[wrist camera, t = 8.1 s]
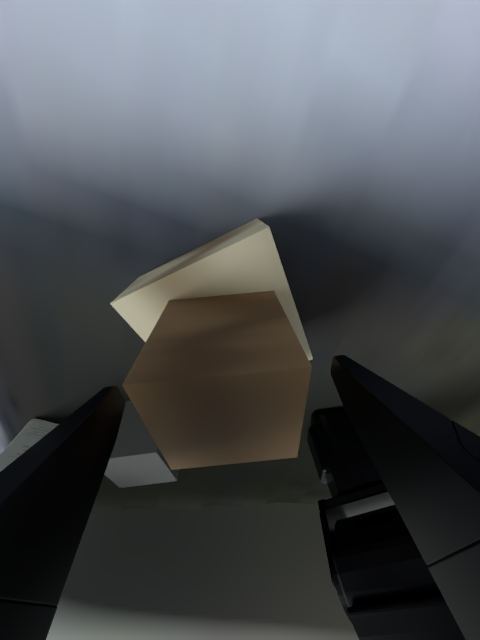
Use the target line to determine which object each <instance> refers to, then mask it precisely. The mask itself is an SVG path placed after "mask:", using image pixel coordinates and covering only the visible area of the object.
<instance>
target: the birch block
mask: <svg viewBox="0 0 480 640" xmlns="http://www.w3.org/2000/svg"><path fill="white" fill-rule="evenodd" d="M264 291H274V292H275V294H276V296H277V298H278V300H279V302H280V304H281V306H282V308H283V310H284V312H285V314H286V316H287V318H288V320H289V322H290V324H291V326H292V328H293V330H294V332H295V334H296V336H297V338H298V340H299V342H300V344H301V346H302V348H303V350H304V352H305V354H306V356H307V358H308V360H312V359H313V357H312V354H311V351H310V348H309V345H308V342H307V339H306V336H305V333H304V330H303V327H302V324H301V321H300V318H299V315H298V312H297V309H296V306H295V303H294V300H293V297H292V294H291V291H290V288H289V285H288V282H287V279H286V276H285V273H284V270H283V267H282V264H281V261H280V258H279V255H278V252H277V249H276V245H275V242H274V239H273V236H272V233H271V230H270V227H269V226H268V225H266V224H265V223H263V222H262V221H260V220H259V219H258V218H257V219H255V220H253V221H251V222H249V223H247V224H245V225H243V226H241V227H239V228H237V229H235V230H233V231H231V232H229V233H227V234H225V235H223V236H221V237H219V238H217V239H215V240H213V241H211V242H209V243H207V244H205V245H203V246H201V247H199V248H197V249H195V250H193V251H191V252H189V253H186V254H184V255H182V256H180V257H178V258H176V259H174V260H172V261H170V262H168V263H166V264H164V265H162V266H160V267H158V268H156V269H154V270H152V271H150V272H148V273H146V274H144V275H142V276H140V277H139V278H138V279H136V280H135V281H134V282H133V283H132V284H131V285H130V286H129V287H128V288H127V289H125V290H124V291H123V292H122V293H121V294H120V295H119V296H118V297H117V298H116V299H115V300H113V301H112V302H111V303H110V304H111V305H112V306H113V307H114V308H115V310H116V311H117V312H118V313H119V314H120V315H121V316H122V317H123V318H124V319H125V321H126V322H127V323H128V324H129V325H130V326H131V327H132V328H133V329H134V330H135V331H136V333H137V334H138V335H139V336H140V337H141V338H142V339H143V340H144V341H145V342H146V341H147V339H148V337H149V336H150V334H151V332H152V330H153V328H154V327H155V325H156V323H157V321H158V319H159V318H160V316H161V314H162V312H163V310H164V309H165V307H166V305H167V303H168V301H169V300H177V299H188V298H199V297H210V296H220V295H231V294H242V293H253V292H264Z"/></svg>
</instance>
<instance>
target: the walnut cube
mask: <svg viewBox="0 0 480 640" xmlns="http://www.w3.org/2000/svg"><path fill="white" fill-rule="evenodd" d="M311 370H312V366H311V364H310V362H309V360H308V358H307V356H306V354H305V352H304V350H303V348H302V346H301V344H300V342H299V340H298V338H297V336H296V334H295V332H294V330H293V328H292V326H291V324H290V322H289V320H288V318H287V316H286V314H285V312H284V310H283V308H282V306H281V304H280V302H279V300H278V298H277V296H276V294H275V292H274V291H264V292H253V293H242V294H231V295H220V296H210V297H199V298H188V299H177V300H169V301H168V303H167V305H166V307H165V309H164V310H163V312H162V314H161V316H160V318H159V319H158V321H157V323H156V325H155V327H154V328H153V330H152V332H151V334H150V336H149V337H148V339H147V341H146V343H145V345H144V346H143V348H142V350H141V352H140V354H139V355H138V357H137V359H136V361H135V363H134V364H133V366H132V368H131V370H130V372H129V373H128V375H127V377H126V379H125V381H124V382H123V384H122V386H123V388H124V390H125V391H126V393H127V395H128V396H129V398H130V400H131V402H132V403H133V405H134V407H135V408H136V410H137V412H138V414H139V415H140V417H141V419H142V420H143V422H144V424H145V425H146V427H147V429H148V431H149V432H150V434H151V436H152V437H153V439H154V441H155V443H156V444H157V446H158V448H159V449H160V451H161V453H162V455H163V456H164V458H165V460H166V461H167V463H168V465H169V467H170V468H171V470H175V469H185V468H195V467H205V466H215V465H225V464H235V463H245V462H255V461H265V460H275V459H285V458H295V457H297V455H298V448H299V442H300V436H301V430H302V424H303V418H304V412H305V406H306V400H307V394H308V388H309V382H310V376H311Z"/></svg>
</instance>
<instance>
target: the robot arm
mask: <svg viewBox="0 0 480 640" xmlns="http://www.w3.org/2000/svg"><path fill="white" fill-rule="evenodd" d="M331 376H332V378H333V381H334V383H335V386H336V388H337V391H338V393H339V396H340V398H341V401H342V403H343V406H344V408H341V409H333V410H325V411H318V412H314V413H313V414H312V416H311V426H310V428H309V429H308V439H307V441H308V444H309V447H310V451H311V454H312V457H313V460H314V463H315V466H316V469H317V472H318V475H319V478H320V481H321V482H322V483H327V484H328V487H329V490H330V493H331V496H332V498H330V499H327V500H324V499H323V500H319V501H318V504H319V510H320V519H321V525H322V530H323V535H324V540H325V546H326V552H327V557H328V562H329V568H330V573H331V578H332V583H333V586H334V588H335V590H336V591H337V593H338V596H339V599H340V601H341V604H342V606H343V608H344V610H345V613H346V615H347V616H348V618H349V620H350V621H351V623H352V624H353V626H354V629H355V631H356V633H357V635H358V637H359V640H480V436H478V435H476V434H475V433H473V432H471V431H469V430H468V429H466V428H464V427H463V426H461V425H459V424H458V423H456V422H455V421H451V420H450V419H449V418H448V417H446V416H444V415H443V414H441V413H439V412H438V411H436V410H434V409H433V408H431V407H430V406H428V405H426V404H425V403H423V402H421V401H420V400H418V399H416V398H415V397H413V396H411V395H410V394H408V393H406V392H405V391H403V390H401V389H400V388H398V387H396V386H395V385H393V384H391V383H390V382H388V381H386V380H385V379H383V378H382V377H380V376H378V375H377V374H375V373H373V372H372V371H370V370H368V369H367V368H365V367H363V366H362V365H360V364H358V363H357V362H355V361H353V360H352V359H350V358H348V357H347V356H345V355H339V356H334V357H333V359H332V365H331ZM125 403H126V399H125V397H124V395H123V394H122V392H121V391H120V390H119V388H118V387H117V386H109V387H105V388H103V389H102V390H101V391H100V392H98V393H97V394H96V395H95V396H93V397H92V398H91V399H90V400H88V401H87V402H86V403H85V404H84V405H82V406H81V407H80V408H79V409H77V410H76V411H75V412H74V413H72V414H71V415H70V416H69V417H67V418H66V419H65V420H64V421H62V422H61V423H60V424H59V425H58V426H56V427H55V428H54V429H53V430H51V431H50V432H49V433H48V434H46V435H45V436H44V437H43V438H41V439H40V440H39V441H38V442H36V443H35V444H34V445H33V446H32V447H30V448H29V449H28V450H27V451H25V452H24V453H23V454H22V455H20V456H19V457H18V458H17V459H15V460H14V461H13V462H12V463H10V464H9V465H8V466H7V467H6V468H4V469H3V470H2V471H1V472H0V640H46V638H47V634H48V632H49V629H50V626H51V623H52V621H53V618H54V615H55V612H56V610H57V605H58V603H59V601H60V597H61V595H62V592H63V589H64V586H65V584H66V581H67V578H68V575H69V572H70V570H71V566H72V564H73V561H74V558H75V555H76V553H77V550H78V547H79V544H80V541H81V538H82V536H83V533H84V530H85V527H86V524H87V521H88V519H89V515H90V513H91V510H92V507H93V505H94V502H95V499H96V496H97V493H98V491H99V488H100V485H101V482H102V479H103V476H104V474H105V471H106V468H107V465H108V462H109V460H110V457H111V454H112V451H113V448H114V445H115V442H116V439H117V435H118V432H119V428H120V424H121V420H122V416H123V412H124V408H125Z"/></svg>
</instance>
